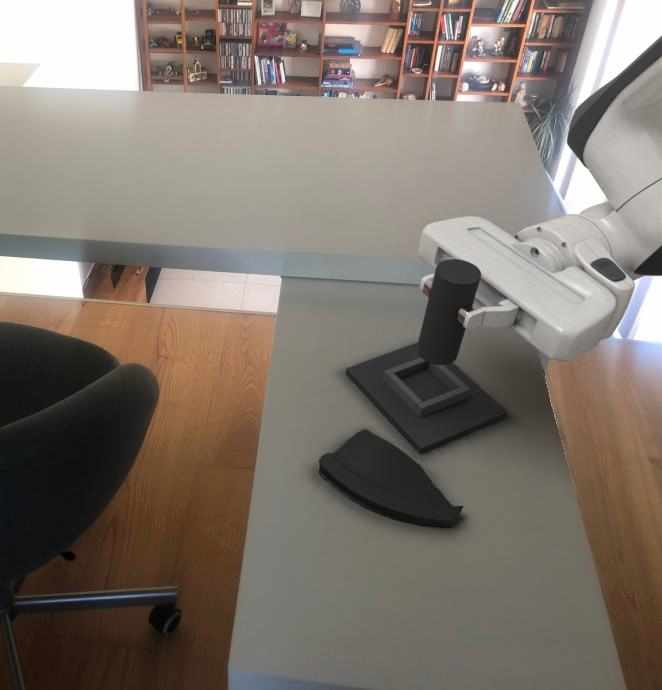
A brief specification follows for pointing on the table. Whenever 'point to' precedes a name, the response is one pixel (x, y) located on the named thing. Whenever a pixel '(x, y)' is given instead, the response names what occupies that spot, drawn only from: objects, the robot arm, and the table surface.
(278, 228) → the table surface
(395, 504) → the dark sector wedge
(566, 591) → the table surface
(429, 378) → the base pad
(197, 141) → the table surface
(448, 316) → the dark cylindrical post
